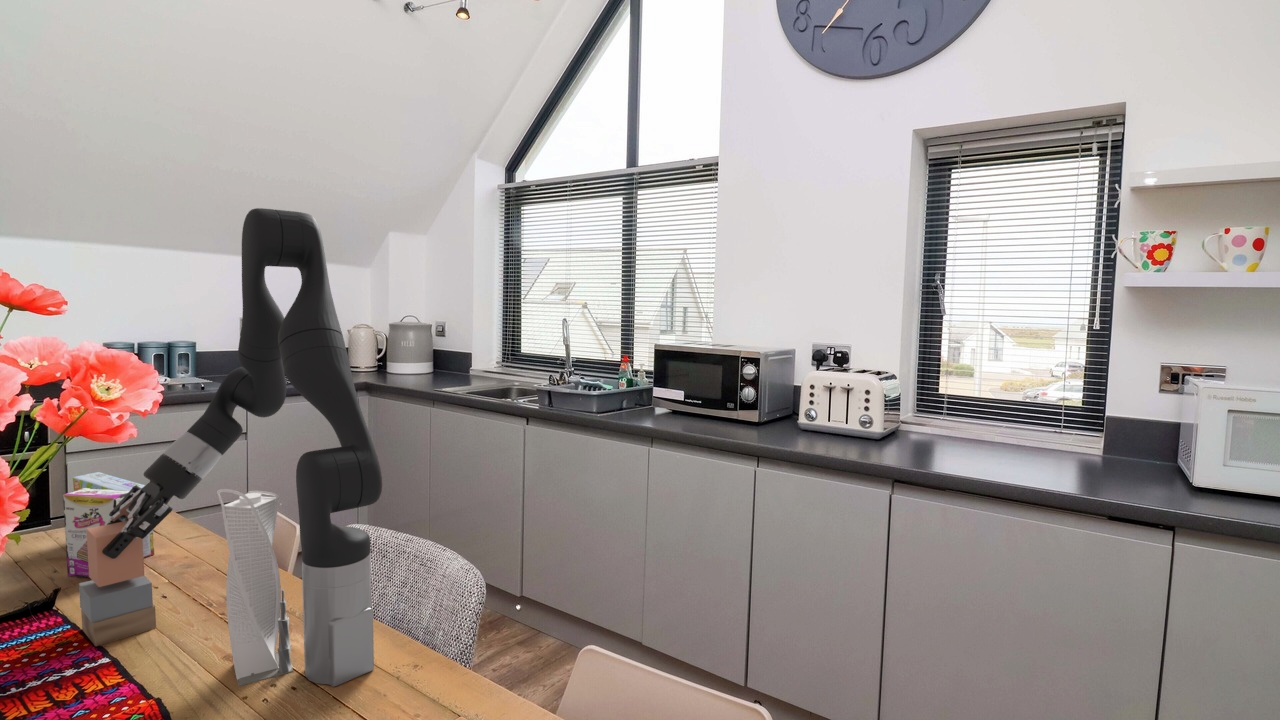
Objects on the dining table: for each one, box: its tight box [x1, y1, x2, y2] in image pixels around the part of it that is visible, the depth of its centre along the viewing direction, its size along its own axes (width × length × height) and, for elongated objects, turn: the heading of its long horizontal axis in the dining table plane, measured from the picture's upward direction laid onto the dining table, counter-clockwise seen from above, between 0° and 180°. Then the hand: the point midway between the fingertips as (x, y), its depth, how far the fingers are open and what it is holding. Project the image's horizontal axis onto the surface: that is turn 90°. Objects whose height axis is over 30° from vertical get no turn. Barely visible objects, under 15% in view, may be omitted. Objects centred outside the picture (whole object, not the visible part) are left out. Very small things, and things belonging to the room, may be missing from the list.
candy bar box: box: [62, 488, 129, 579], centre depth 132 cm, size 11×5×16 cm, turn 84°
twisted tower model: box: [216, 488, 294, 687], centre depth 100 cm, size 8×8×28 cm
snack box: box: [72, 471, 155, 558], centre depth 145 cm, size 21×6×15 cm, turn 62°
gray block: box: [78, 574, 154, 623], centre depth 112 cm, size 8×8×4 cm
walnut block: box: [80, 604, 157, 647], centre depth 112 cm, size 8×8×4 cm
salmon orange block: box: [86, 521, 145, 587], centre depth 111 cm, size 6×6×8 cm
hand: (102, 550), depth 110 cm, fingers closed on salmon orange block, 6 cm apart
